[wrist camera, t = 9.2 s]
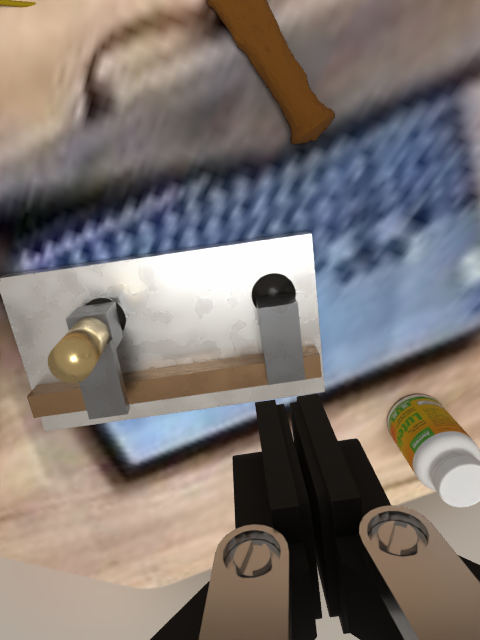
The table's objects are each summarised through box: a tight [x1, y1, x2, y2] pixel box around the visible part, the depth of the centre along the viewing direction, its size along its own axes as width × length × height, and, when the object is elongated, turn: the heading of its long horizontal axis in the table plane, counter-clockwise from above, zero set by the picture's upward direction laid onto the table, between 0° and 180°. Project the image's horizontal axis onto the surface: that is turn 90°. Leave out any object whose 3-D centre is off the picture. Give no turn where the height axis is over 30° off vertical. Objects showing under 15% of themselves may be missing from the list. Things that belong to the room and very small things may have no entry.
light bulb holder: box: [48, 302, 130, 420], centre depth 34 cm, size 3×8×8 cm, turn 8°
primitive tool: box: [206, 0, 335, 144], centre depth 31 cm, size 19×6×4 cm, turn 36°
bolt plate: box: [0, 231, 325, 431], centre depth 38 cm, size 25×14×4 cm, turn 98°
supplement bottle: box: [387, 394, 480, 507], centre depth 39 cm, size 5×5×10 cm
